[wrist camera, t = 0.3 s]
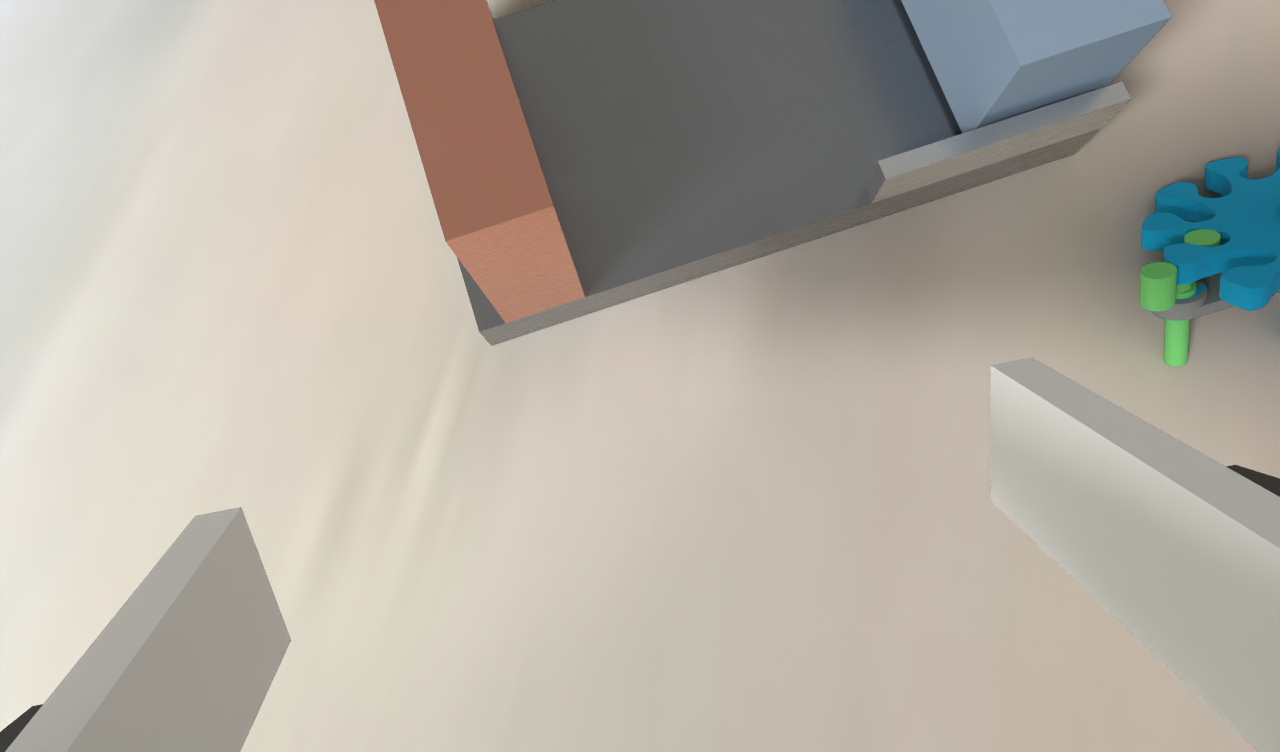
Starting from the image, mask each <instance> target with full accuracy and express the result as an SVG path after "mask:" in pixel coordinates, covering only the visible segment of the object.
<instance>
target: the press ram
mask: <svg viewBox="0 0 1280 752" xmlns="http://www.w3.org/2000/svg"><path fill="white" fill-rule="evenodd" d="M901 1H902V3H903V5H904V7H905V10H906V12H907V14H908V16H909V18H910V21H911V23H912V25H913V27H914V29H915V31H916V34H917V36H918V38H919V40H920V42H921V45H922V47H923V49H924V51H925V53H926V55H927V58H928V60H929V62H930V64H931V66H932V68H933V71H934V73H935V75H936V77H937V79H938V82H939V84H940V86H941V88H942V90H943V92H944V95H945V97H946V99H947V101H948V103H949V105H950V108H951V110H952V112H953V114H954V116H955V119H956V121H957V123H958V125H959V127H960V129H961V132H962V133H966V132H969V131H972V130H975V129H978V128H981V127H984V126H987V125H990V124H993V123H996V122H999V121H1002V120H1005V119H1008V118H1011V117H1015V116H1018V115H1021V114H1024V113H1027V112H1030V111H1033V110H1036V109H1039V108H1042V107H1045V106H1048V105H1051V104H1054V103H1057V102H1060V101H1064V100H1067V99H1070V98H1073V97H1076V96H1079V95H1082V94H1085V93H1088V92H1091V91H1094V90H1097V89H1100V88H1103V87H1106V86H1108V85H1109V84H1110V83H1111V81H1112V80H1113V79H1114V78H1115V77H1116V76H1117V75H1118V74H1119V73H1120V72H1121V71H1122V70H1123V69H1124V68H1125V67H1126V65H1127V64H1128V63H1129V62H1130V61H1131V60H1132V59H1133V58H1134V57H1135V56H1136V55H1137V54H1138V53H1139V52H1140V51H1141V49H1142V48H1143V47H1144V46H1145V45H1146V44H1147V43H1148V42H1149V41H1150V40H1151V39H1152V38H1153V37H1154V36H1155V35H1156V33H1157V32H1158V31H1159V30H1160V29H1161V28H1162V27H1163V26H1164V25H1165V24H1166V23H1167V22H1168V21H1169V20H1170V19H1171V17H1172V16H1171V14H1170V12H1169V10H1168V8H1167V7H1166V5H1165V3H1164V1H1163V0H901Z"/></svg>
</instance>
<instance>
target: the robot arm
mask: <svg viewBox="0 0 1280 752" xmlns="http://www.w3.org/2000/svg"><path fill="white" fill-rule="evenodd" d="M991 502H992V503H993V504H994V505H995V506H996V507H997V508H998V509H1000V510H1001V511H1002V512H1003V513H1004V514H1005V515H1006V516H1007V517H1008V518H1009V519H1010V520H1011V521H1012V522H1013V523H1014V524H1016V525H1017V526H1018V527H1019V528H1020V529H1021V530H1022V531H1023V532H1024V533H1025V534H1026V535H1027V536H1028V537H1029V538H1030V539H1032V540H1033V541H1034V542H1035V543H1036V544H1037V545H1038V546H1039V547H1040V548H1041V549H1042V550H1043V551H1044V552H1045V553H1046V554H1048V555H1049V556H1050V557H1051V558H1052V559H1053V560H1054V561H1055V562H1056V563H1057V564H1058V565H1059V566H1060V567H1061V568H1062V569H1064V570H1065V571H1066V572H1067V573H1068V574H1069V575H1070V576H1071V577H1072V578H1073V579H1074V580H1075V581H1076V582H1077V583H1078V584H1080V585H1081V586H1082V587H1083V588H1084V589H1085V590H1086V591H1087V592H1088V593H1089V594H1090V595H1091V596H1092V597H1093V598H1094V599H1096V600H1097V601H1098V602H1099V603H1100V604H1101V605H1102V606H1103V607H1104V608H1105V609H1106V610H1107V611H1108V612H1109V613H1110V614H1112V615H1113V616H1114V617H1115V618H1116V619H1117V620H1118V621H1119V622H1120V623H1121V624H1122V625H1123V626H1124V627H1125V628H1126V629H1128V630H1129V631H1130V632H1131V633H1132V634H1133V635H1134V636H1135V637H1136V638H1137V639H1138V640H1139V641H1140V642H1141V643H1142V644H1144V645H1145V646H1146V647H1147V648H1148V649H1149V650H1150V651H1151V652H1152V653H1153V654H1154V655H1155V656H1156V657H1157V658H1158V659H1160V660H1161V661H1162V662H1163V663H1164V664H1165V665H1166V666H1167V667H1168V668H1169V669H1170V670H1171V671H1172V672H1173V673H1174V674H1176V675H1177V676H1178V677H1179V678H1180V679H1181V680H1182V681H1183V682H1184V683H1185V684H1186V685H1187V686H1188V687H1189V688H1190V689H1192V690H1193V691H1194V692H1195V693H1196V694H1197V695H1198V696H1199V697H1200V698H1201V699H1202V700H1203V701H1204V702H1205V703H1206V704H1208V705H1209V706H1210V707H1211V708H1212V709H1213V710H1214V711H1215V712H1216V713H1217V714H1218V715H1219V716H1220V717H1221V718H1222V719H1224V720H1225V721H1226V722H1227V723H1228V724H1229V725H1230V726H1231V727H1232V728H1233V729H1234V730H1235V731H1236V732H1237V733H1238V734H1240V735H1241V736H1242V737H1243V738H1244V739H1245V740H1246V741H1247V742H1248V743H1249V744H1250V745H1251V746H1252V747H1253V748H1254V749H1255V750H1257V751H1258V752H1280V479H1279V478H1276V477H1273V476H1270V475H1266V474H1263V473H1260V472H1257V471H1253V470H1250V469H1247V468H1244V467H1241V466H1237V465H1232V466H1227V467H1226V466H1224V465H1222V464H1220V463H1219V462H1217V461H1215V460H1213V459H1211V458H1210V457H1208V456H1206V455H1204V454H1203V453H1201V452H1199V451H1197V450H1195V449H1194V448H1192V447H1190V446H1188V445H1187V444H1185V443H1183V442H1181V441H1179V440H1178V439H1176V438H1174V437H1172V436H1171V435H1169V434H1167V433H1165V432H1163V431H1162V430H1160V429H1158V428H1156V427H1155V426H1153V425H1151V424H1149V423H1147V422H1146V421H1144V420H1142V419H1140V418H1139V417H1137V416H1135V415H1133V414H1132V413H1130V412H1128V411H1126V410H1124V409H1123V408H1121V407H1119V406H1117V405H1116V404H1114V403H1112V402H1110V401H1108V400H1107V399H1105V398H1103V397H1101V396H1100V395H1098V394H1096V393H1094V392H1092V391H1091V390H1089V389H1087V388H1085V387H1084V386H1082V385H1080V384H1078V383H1076V382H1075V381H1073V380H1071V379H1069V378H1068V377H1066V376H1064V375H1062V374H1060V373H1059V372H1057V371H1055V370H1053V369H1052V368H1050V367H1048V366H1046V365H1044V364H1043V363H1041V362H1039V361H1037V360H1036V359H1034V358H1027V359H1022V360H1017V361H1012V362H1006V363H1001V364H996V365H991ZM290 641H291V639H290V636H289V633H288V631H287V628H286V625H285V623H284V620H283V617H282V615H281V612H280V609H279V607H278V604H277V601H276V599H275V596H274V593H273V591H272V588H271V585H270V583H269V580H268V577H267V575H266V572H265V569H264V567H263V564H262V561H261V559H260V556H259V553H258V551H257V548H256V545H255V543H254V540H253V537H252V535H251V532H250V529H249V527H248V524H247V521H246V519H245V516H244V513H243V511H242V508H241V507H240V508H235V509H229V510H224V511H219V512H214V513H208V514H203V515H198V516H195V517H194V518H193V519H192V521H191V522H190V523H189V524H188V526H187V527H186V528H185V529H184V531H183V532H182V533H181V534H180V536H179V537H178V538H177V539H176V541H175V542H174V543H173V544H172V545H171V547H170V548H169V549H168V550H167V552H166V553H165V554H164V555H163V557H162V558H161V559H160V560H159V562H158V563H157V564H156V565H155V567H154V568H153V569H152V570H151V572H150V573H149V574H148V575H147V576H146V578H145V579H144V580H143V581H142V583H141V584H140V585H139V586H138V588H137V589H136V590H135V591H134V593H133V594H132V595H131V596H130V598H129V599H128V600H127V601H126V602H125V604H124V605H123V606H122V607H121V609H120V610H119V611H118V612H117V614H116V615H115V616H114V617H113V619H112V620H111V621H110V622H109V624H108V625H107V626H106V627H105V629H104V630H103V631H102V632H101V633H100V635H99V636H98V637H97V638H96V640H95V641H94V642H93V643H92V645H91V646H90V647H89V648H88V650H87V651H86V652H85V653H84V655H83V656H82V657H81V658H80V659H79V661H78V662H77V663H76V664H75V666H74V667H73V668H72V669H71V671H70V672H69V673H68V674H67V676H66V677H65V678H64V679H63V681H62V682H61V683H60V684H59V686H58V687H57V688H56V689H55V690H54V692H53V693H52V694H51V695H50V697H49V698H48V699H47V700H46V702H45V703H44V704H42V705H37V706H32V707H31V708H30V709H28V710H27V711H26V712H25V713H23V714H22V715H21V716H20V717H18V718H17V719H16V720H15V721H13V722H12V723H11V724H10V725H8V726H7V727H6V728H5V729H3V730H2V731H1V732H0V752H240V751H241V749H242V747H243V744H244V742H245V740H246V738H247V736H248V733H249V731H250V729H251V727H252V725H253V722H254V720H255V718H256V716H257V714H258V711H259V709H260V707H261V705H262V703H263V701H264V698H265V696H266V694H267V692H268V690H269V687H270V685H271V683H272V681H273V679H274V676H275V674H276V672H277V670H278V668H279V665H280V663H281V661H282V659H283V657H284V654H285V652H286V650H287V648H288V646H289V643H290Z"/></svg>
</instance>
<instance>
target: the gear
mask: <svg viewBox="0 0 1280 752" xmlns="http://www.w3.org/2000/svg"><path fill="white" fill-rule="evenodd" d="M1247 170H1248V161H1247V160H1246V159H1245V158H1242V157H1234V158H1227V159H1222V160H1218V161H1214V162H1210V163H1207V164H1206V167H1205V184H1204V185H1205V188H1206V189H1208V190H1210V191H1213V192H1216V193H1218V194H1221V195H1222V196H1223V197H1219V198H1205V197H1202V196H1200V195H1199V194H1198V191H1197V186H1196V185H1195V184H1193V183H1190V182H1182V181H1180V182H1177V183H1174V184H1171V185H1169V186H1167V187H1165V188H1163V189H1161V190H1160V191H1158V192H1157V193H1156V201H1155V213H1152V214H1151V215H1149V216H1148V217H1147V218H1146V220H1145V221H1144V223H1143V226H1142V244H1141V248H1142V249H1145V250H1150V251H1161V250H1164V259H1163V262H1154V263H1150V264H1147V265H1145V266H1143V267H1142V268H1141V270H1140V306H1141V307H1142V308H1144V309H1145V310H1148V311H1152V312H1153V314H1155V315H1156V316H1158V317H1160V318H1162V319H1165V341H1164V362H1165V363H1166V364H1168V365H1170V366H1182V365H1184V364H1186V363H1187V361H1188V346H1189V329H1190V319H1193V318H1196V317H1200V316H1203V315H1206V314H1209V313H1213V312H1216V311H1219V310H1222V309H1225V308H1229V307H1232V306H1236V307H1239V308H1242V309H1245V310H1249V311H1251V310H1256V309H1259V308H1262V307H1264V306H1265V305H1266V304H1268V302H1269V300H1270V298H1271V297H1272V296H1273V294H1274V293H1277V292H1280V147H1279V149H1278V153H1277V162H1276V172H1275V173H1273V174H1272V175H1271V176H1269V177H1266V178H1262V179H1247ZM1183 219H1185V220H1190V221H1194V222H1189V221H1185V220H1183Z"/></svg>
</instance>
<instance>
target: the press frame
mask: <svg viewBox="0 0 1280 752" xmlns="http://www.w3.org/2000/svg"><path fill="white" fill-rule="evenodd" d="M374 1H375V4H376V8H377V11H378V14H379V18H380V21H381V25H382V28H383V31H384V35H385V38H386V41H387V45H388V48H389V52H390V55H391V58H392V62H393V65H394V69H395V72H396V75H397V79H398V82H399V85H400V89H401V92H402V96H403V99H404V102H405V106H406V109H407V112H408V116H409V119H410V123H411V126H412V129H413V133H414V136H415V139H416V143H417V146H418V150H419V153H420V156H421V160H422V163H423V166H424V170H425V173H426V177H427V180H428V183H429V187H430V190H431V194H432V197H433V200H434V204H435V207H436V210H437V214H438V217H439V221H440V224H441V227H442V231H443V234H444V237H445V241H446V242H447V244H448V245H449V246H450V248H451V249H452V251H453V252H454V253H455V255H456V256H457V258H458V262H459V265H460V268H461V272H462V275H463V278H464V282H465V285H466V288H467V292H468V295H469V299H470V302H471V305H472V309H473V312H474V315H475V319H476V322H477V325H478V329H479V332H480V333H481V334H482V335H483V337H484V338H485V339H486V340H487V341H488V342H489V343H490V344H491V346H492V345H495V344H498V343H501V342H504V341H507V340H510V339H513V338H516V337H519V336H522V335H525V334H528V333H531V332H534V331H537V330H541V329H544V328H547V327H550V326H553V325H556V324H559V323H562V322H565V321H568V320H571V319H574V318H577V317H580V316H583V315H586V314H589V313H592V312H595V311H598V310H601V309H604V308H607V307H610V306H614V305H617V304H620V303H623V302H626V301H629V300H632V299H635V298H638V297H641V296H644V295H647V294H650V293H653V292H656V291H659V290H662V289H665V288H668V287H671V286H674V285H677V284H680V283H683V282H687V281H690V280H693V279H696V278H699V277H702V276H705V275H708V274H711V273H714V272H717V271H720V270H723V269H726V268H729V267H732V266H735V265H738V264H741V263H744V262H747V261H750V260H753V259H756V258H759V257H763V256H766V255H769V254H772V253H775V252H778V251H781V250H784V249H787V248H790V247H793V246H796V245H799V244H802V243H805V242H808V241H811V240H814V239H817V238H820V237H823V236H826V235H829V234H832V233H836V232H839V231H842V230H845V229H848V228H851V227H854V226H857V225H860V224H863V223H866V222H869V221H872V220H875V219H878V218H881V217H884V216H887V215H890V214H893V213H896V212H899V211H902V210H905V209H908V208H912V207H915V206H918V205H921V204H924V203H927V202H930V201H933V200H936V199H939V198H942V197H945V196H948V195H951V194H954V193H957V192H960V191H963V190H966V189H969V188H972V187H975V186H978V185H981V184H985V183H988V182H991V181H994V180H997V179H1000V178H1003V177H1006V176H1009V175H1012V174H1015V173H1018V172H1021V171H1024V170H1027V169H1030V168H1033V167H1036V166H1039V165H1042V164H1045V163H1048V162H1051V161H1054V160H1058V159H1061V158H1064V157H1067V156H1070V155H1073V154H1075V153H1076V152H1077V151H1078V150H1079V149H1080V148H1081V147H1082V146H1084V145H1085V144H1086V143H1087V142H1088V141H1089V140H1090V139H1091V138H1092V137H1093V136H1094V135H1095V134H1096V133H1097V132H1098V131H1099V130H1100V129H1101V128H1102V127H1103V126H1104V125H1105V124H1106V123H1107V122H1108V121H1109V120H1110V119H1111V118H1112V117H1113V116H1114V115H1115V114H1116V113H1117V112H1118V111H1119V110H1120V109H1121V108H1122V107H1123V106H1124V105H1125V104H1126V103H1127V102H1128V101H1129V100H1130V99H1131V97H1130V95H1129V93H1128V91H1127V89H1126V87H1125V85H1124V84H1123V82H1119V83H1116V84H1113V85H1109V86H1106V87H1103V88H1100V89H1097V90H1094V91H1091V92H1088V93H1085V94H1082V95H1079V96H1076V97H1073V98H1070V99H1067V100H1064V101H1060V102H1057V103H1054V104H1051V105H1048V106H1045V107H1042V108H1039V109H1036V110H1033V111H1030V112H1027V113H1024V114H1021V115H1018V116H1015V117H1011V118H1008V119H1005V120H1002V121H999V122H996V123H993V124H990V125H987V126H984V127H981V128H978V129H975V130H972V131H969V132H966V133H962V132H961V129H960V127H959V125H958V123H957V121H956V119H955V116H954V114H953V112H952V110H951V108H950V105H949V103H948V101H947V99H946V97H945V95H944V92H943V90H942V88H941V86H940V84H939V82H938V79H937V77H936V75H935V73H934V71H933V68H932V66H931V64H930V62H929V60H928V58H927V55H926V53H925V51H924V49H923V47H922V45H921V42H920V40H919V38H918V36H917V34H916V31H915V29H914V27H913V25H912V23H911V21H910V18H909V16H908V14H907V12H906V10H905V7H904V5H903V3H902V1H901V0H555V1H552V2H549V3H546V4H542V5H539V6H536V7H533V8H530V9H527V10H523V11H520V12H517V13H514V14H511V15H508V16H505V17H501V18H498V19H495V20H493V17H492V14H491V11H490V8H489V5H488V2H487V0H374Z"/></svg>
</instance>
